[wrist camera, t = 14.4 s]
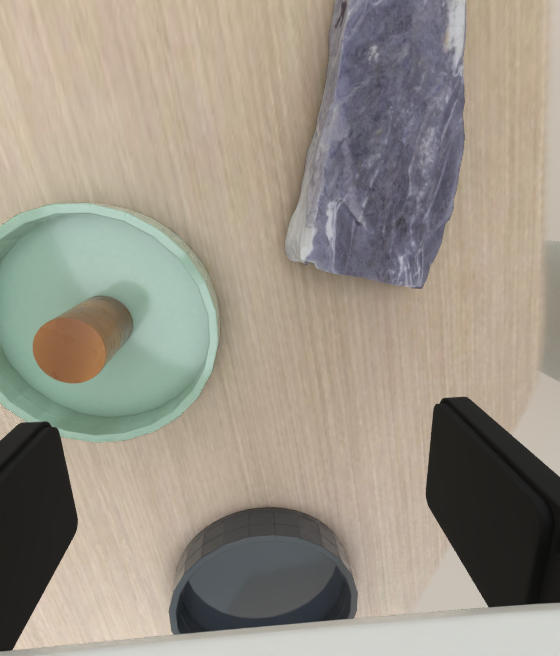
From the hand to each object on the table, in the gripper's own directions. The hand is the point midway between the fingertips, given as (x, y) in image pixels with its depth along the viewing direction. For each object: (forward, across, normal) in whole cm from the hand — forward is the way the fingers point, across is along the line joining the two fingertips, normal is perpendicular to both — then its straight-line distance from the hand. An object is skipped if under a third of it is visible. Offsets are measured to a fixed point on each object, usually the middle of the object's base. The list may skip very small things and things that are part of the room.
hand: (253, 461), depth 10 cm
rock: (+21, -8, -13) cm, 26 cm away
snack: (+20, +11, +1) cm, 22 cm away
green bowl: (+20, +11, +1) cm, 23 cm away
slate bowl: (+20, 0, +27) cm, 34 cm away
